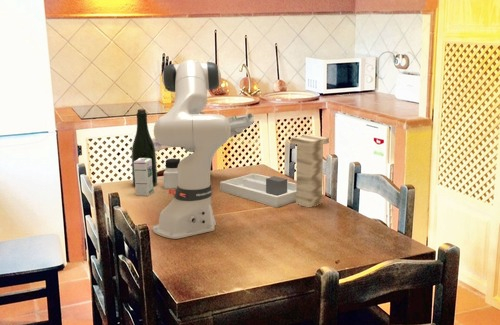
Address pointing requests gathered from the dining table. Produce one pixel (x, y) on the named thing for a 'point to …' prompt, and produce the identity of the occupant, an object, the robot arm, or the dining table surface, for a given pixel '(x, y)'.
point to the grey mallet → (268, 185)
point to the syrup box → (143, 176)
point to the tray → (258, 191)
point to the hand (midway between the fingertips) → (243, 116)
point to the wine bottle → (143, 144)
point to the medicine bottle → (171, 174)
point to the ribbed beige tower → (309, 169)
